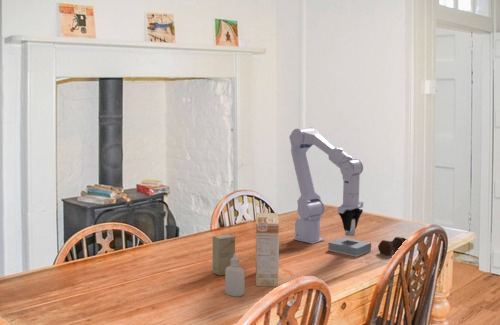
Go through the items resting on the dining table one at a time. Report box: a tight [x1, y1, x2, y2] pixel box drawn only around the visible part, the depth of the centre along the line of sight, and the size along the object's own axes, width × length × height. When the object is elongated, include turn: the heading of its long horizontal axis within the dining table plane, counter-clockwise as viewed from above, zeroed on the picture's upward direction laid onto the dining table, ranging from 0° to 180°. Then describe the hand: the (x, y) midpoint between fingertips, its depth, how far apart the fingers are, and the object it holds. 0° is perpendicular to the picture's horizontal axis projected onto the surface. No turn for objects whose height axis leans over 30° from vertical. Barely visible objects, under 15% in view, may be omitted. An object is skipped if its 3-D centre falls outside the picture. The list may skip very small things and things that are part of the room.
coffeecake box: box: [255, 212, 280, 287], centre depth 180 cm, size 15×7×20 cm, turn 178°
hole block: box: [327, 236, 372, 258], centre depth 211 cm, size 12×10×3 cm
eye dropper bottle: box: [224, 253, 245, 298], centre depth 166 cm, size 4×6×12 cm
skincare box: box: [212, 233, 236, 276], centre depth 186 cm, size 6×4×12 cm
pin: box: [344, 218, 356, 237], centre depth 210 cm, size 4×4×6 cm
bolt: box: [377, 236, 407, 256], centre depth 212 cm, size 6×5×15 cm
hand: (350, 229), depth 211 cm, fingers closed on pin, 4 cm apart
